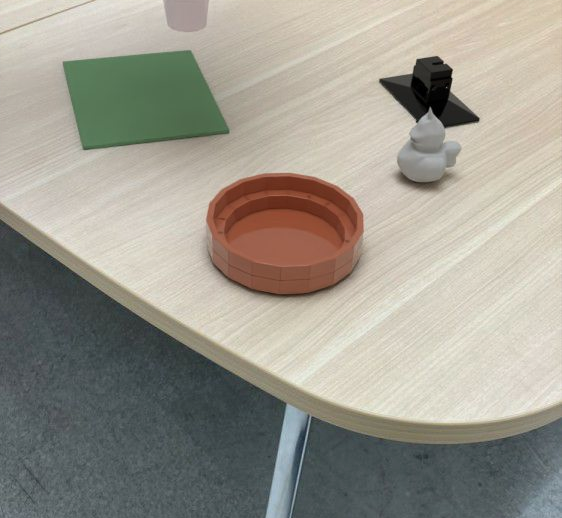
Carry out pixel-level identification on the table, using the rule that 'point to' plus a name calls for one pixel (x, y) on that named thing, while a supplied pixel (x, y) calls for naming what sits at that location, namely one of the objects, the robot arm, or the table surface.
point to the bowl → (284, 232)
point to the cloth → (141, 99)
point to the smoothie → (186, 14)
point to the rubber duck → (427, 151)
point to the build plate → (430, 93)
